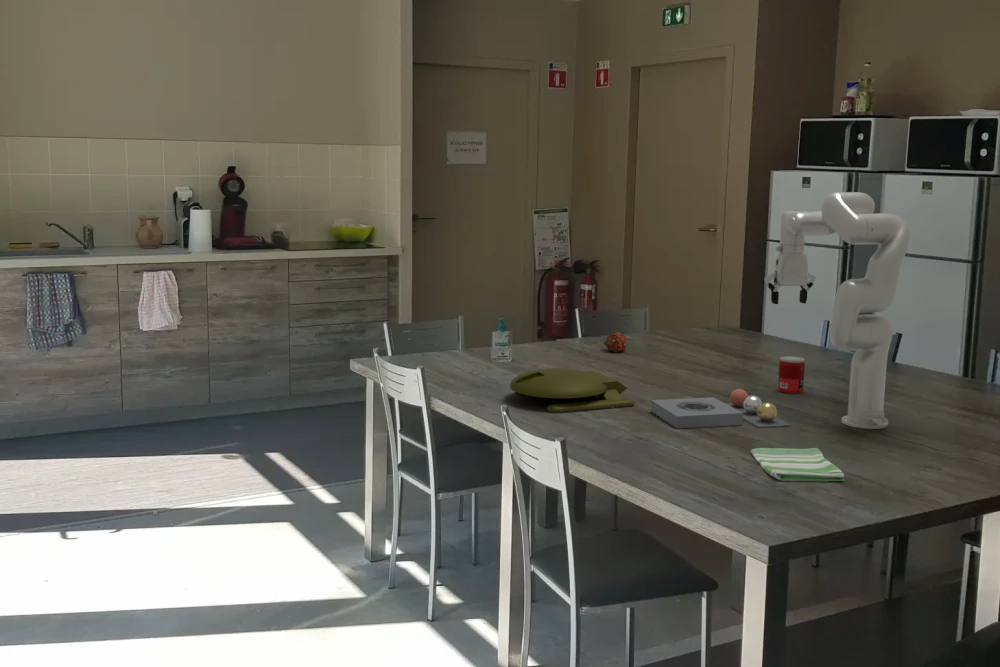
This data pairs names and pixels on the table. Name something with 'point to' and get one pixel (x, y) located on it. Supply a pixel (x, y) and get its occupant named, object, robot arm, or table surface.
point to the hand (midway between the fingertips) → (788, 303)
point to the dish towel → (797, 464)
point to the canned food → (791, 374)
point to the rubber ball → (738, 397)
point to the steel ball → (752, 404)
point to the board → (696, 412)
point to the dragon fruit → (616, 342)
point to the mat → (757, 421)
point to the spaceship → (571, 388)
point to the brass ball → (767, 412)
